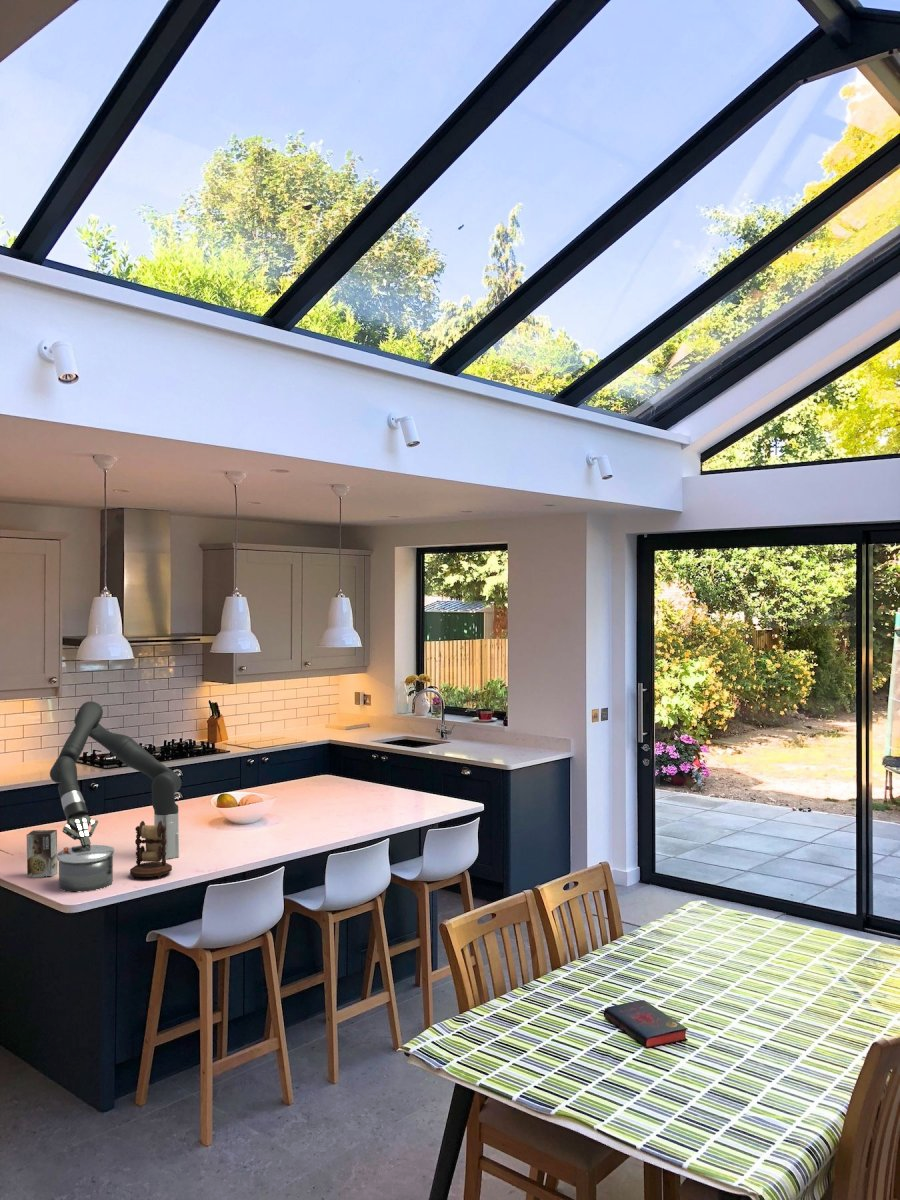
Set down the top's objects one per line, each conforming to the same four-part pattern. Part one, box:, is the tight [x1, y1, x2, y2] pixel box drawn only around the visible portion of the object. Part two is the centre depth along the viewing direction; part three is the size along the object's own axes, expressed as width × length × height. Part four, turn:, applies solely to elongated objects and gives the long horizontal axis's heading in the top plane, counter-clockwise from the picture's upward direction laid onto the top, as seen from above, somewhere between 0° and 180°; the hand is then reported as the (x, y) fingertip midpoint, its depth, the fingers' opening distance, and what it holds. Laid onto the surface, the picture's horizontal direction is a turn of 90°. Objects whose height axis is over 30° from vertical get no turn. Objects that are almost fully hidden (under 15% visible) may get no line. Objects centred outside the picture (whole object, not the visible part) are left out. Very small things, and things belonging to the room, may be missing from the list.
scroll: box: [129, 820, 173, 880], centre depth 354 cm, size 15×15×20 cm
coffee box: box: [26, 829, 58, 878], centre depth 355 cm, size 9×6×16 cm
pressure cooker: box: [58, 855, 114, 892], centre depth 343 cm, size 19×18×10 cm
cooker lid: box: [57, 844, 115, 863], centre depth 342 cm, size 19×19×3 cm
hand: (87, 847), depth 341 cm, fingers closed
